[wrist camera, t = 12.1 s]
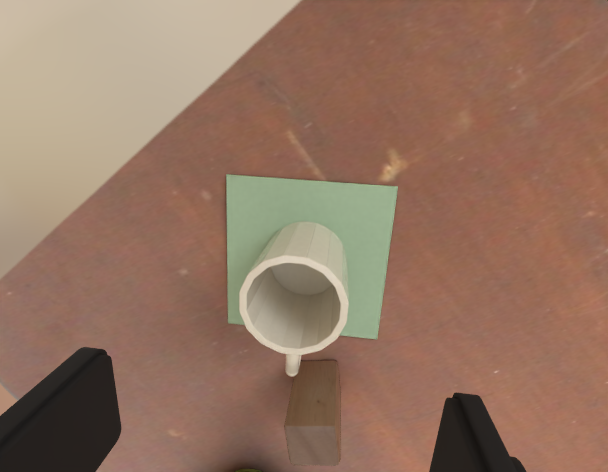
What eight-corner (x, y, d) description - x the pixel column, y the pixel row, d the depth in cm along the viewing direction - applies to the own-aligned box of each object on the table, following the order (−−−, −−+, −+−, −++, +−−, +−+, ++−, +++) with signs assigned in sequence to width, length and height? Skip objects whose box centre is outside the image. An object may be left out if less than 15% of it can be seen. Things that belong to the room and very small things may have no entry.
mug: (267, 217, 29) (239, 251, 21) (350, 224, 29) (353, 261, 21) (264, 321, 32) (238, 385, 24) (339, 329, 32) (338, 397, 24)
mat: (227, 174, 29) (226, 174, 29) (397, 186, 28) (397, 187, 28) (228, 321, 33) (227, 323, 33) (376, 337, 32) (377, 339, 32)
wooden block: (337, 358, 33) (336, 426, 25) (341, 393, 34) (340, 468, 27) (296, 359, 34) (282, 426, 26) (301, 393, 35) (289, 467, 27)
